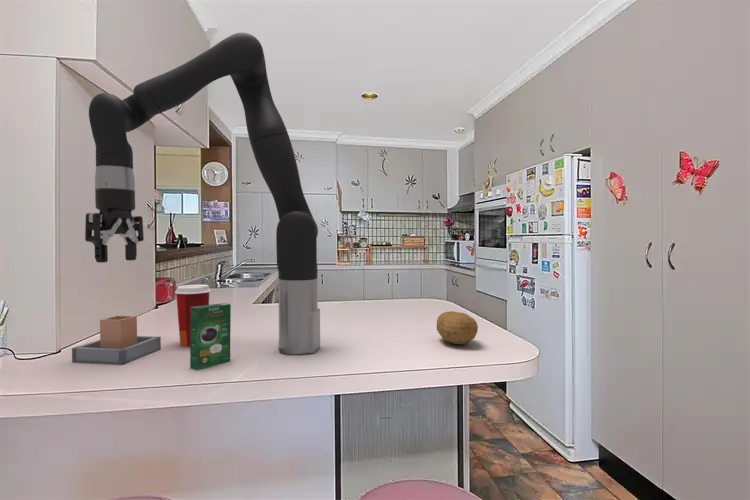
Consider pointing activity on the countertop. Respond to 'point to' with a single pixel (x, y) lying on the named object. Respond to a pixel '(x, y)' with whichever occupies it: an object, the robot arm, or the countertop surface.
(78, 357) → the tray
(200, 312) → the coffee box
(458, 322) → the potato
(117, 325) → the light brown open box
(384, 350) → the countertop surface
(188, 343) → the coffee cup
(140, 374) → the countertop surface
